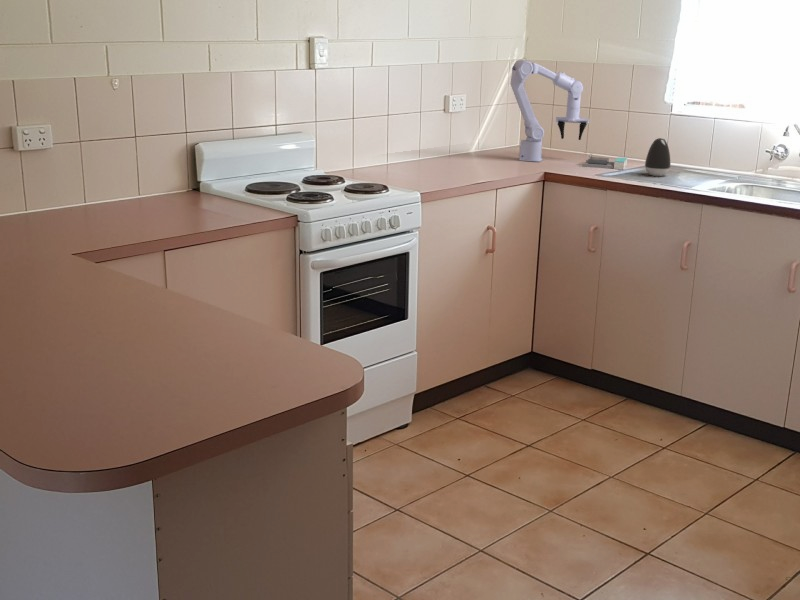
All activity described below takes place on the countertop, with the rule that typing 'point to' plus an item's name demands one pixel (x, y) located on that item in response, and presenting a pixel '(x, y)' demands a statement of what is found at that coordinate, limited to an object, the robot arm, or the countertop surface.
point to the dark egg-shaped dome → (658, 158)
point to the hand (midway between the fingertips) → (571, 139)
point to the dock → (610, 164)
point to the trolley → (598, 160)
